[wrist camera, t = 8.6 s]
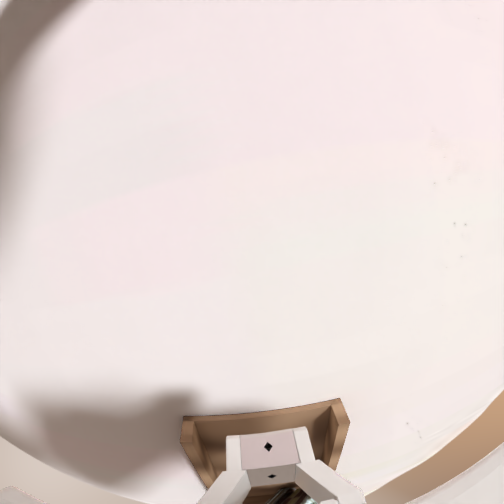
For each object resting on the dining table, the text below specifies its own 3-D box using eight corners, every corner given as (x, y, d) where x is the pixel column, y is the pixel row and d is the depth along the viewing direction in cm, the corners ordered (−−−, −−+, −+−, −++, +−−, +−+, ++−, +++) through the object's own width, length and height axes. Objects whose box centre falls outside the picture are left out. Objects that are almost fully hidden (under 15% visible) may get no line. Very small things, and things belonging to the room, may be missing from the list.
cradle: (183, 416, 21) (179, 441, 18) (339, 398, 21) (350, 421, 18) (224, 496, 28) (224, 512, 25) (320, 485, 28) (324, 500, 25)
